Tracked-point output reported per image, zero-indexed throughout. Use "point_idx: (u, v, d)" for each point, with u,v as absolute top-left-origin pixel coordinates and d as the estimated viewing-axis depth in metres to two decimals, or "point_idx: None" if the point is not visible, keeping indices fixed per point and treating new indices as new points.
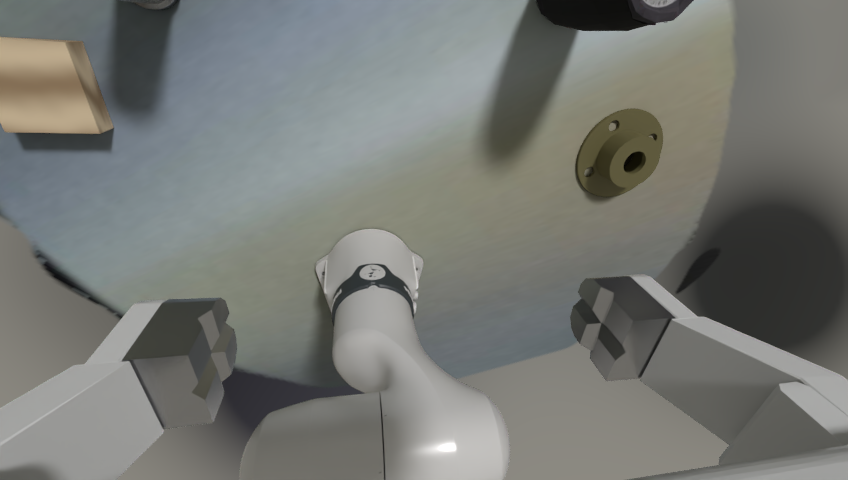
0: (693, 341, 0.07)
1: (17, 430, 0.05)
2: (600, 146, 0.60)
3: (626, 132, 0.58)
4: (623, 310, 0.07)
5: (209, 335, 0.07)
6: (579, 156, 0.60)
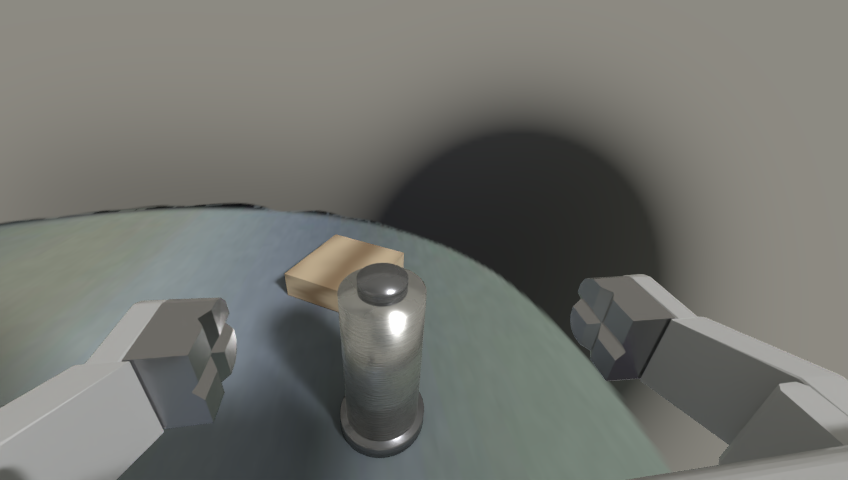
0: (692, 340, 0.07)
1: (17, 429, 0.05)
2: None
3: None
4: (623, 310, 0.07)
5: (209, 335, 0.07)
6: None
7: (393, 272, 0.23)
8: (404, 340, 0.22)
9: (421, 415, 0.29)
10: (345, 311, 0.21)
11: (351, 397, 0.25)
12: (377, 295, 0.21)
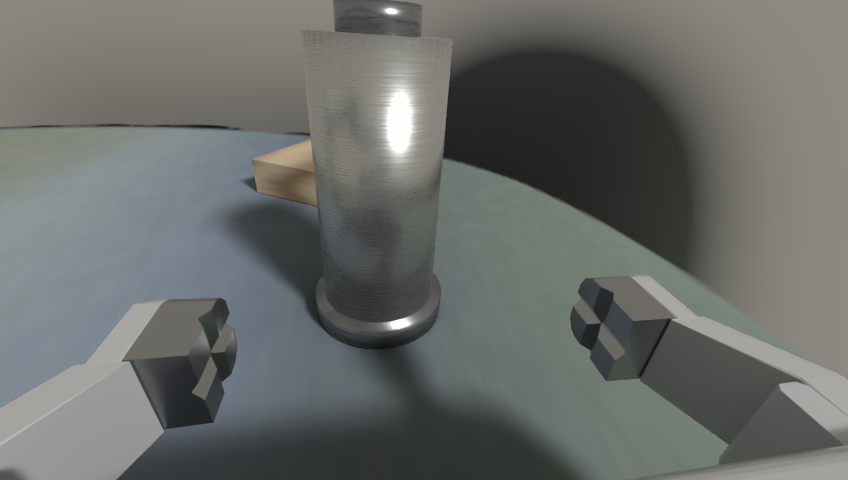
0: (692, 340, 0.07)
1: (17, 429, 0.05)
2: None
3: None
4: (623, 310, 0.07)
5: (209, 335, 0.07)
6: None
7: None
8: (416, 102, 0.13)
9: (437, 295, 0.19)
10: (311, 37, 0.12)
11: (329, 241, 0.16)
12: (368, 5, 0.12)
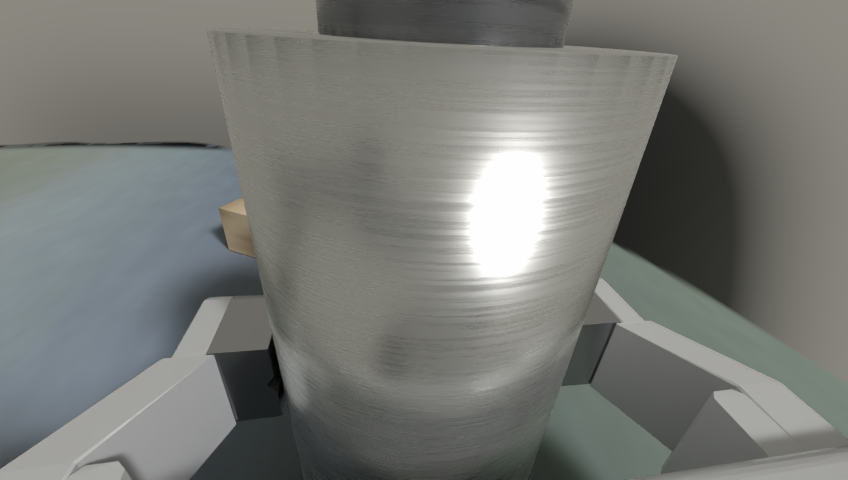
0: (636, 345, 0.07)
1: (126, 418, 0.05)
2: None
3: None
4: None
5: None
6: None
7: None
8: (579, 259, 0.04)
9: None
10: (228, 56, 0.03)
11: None
12: None
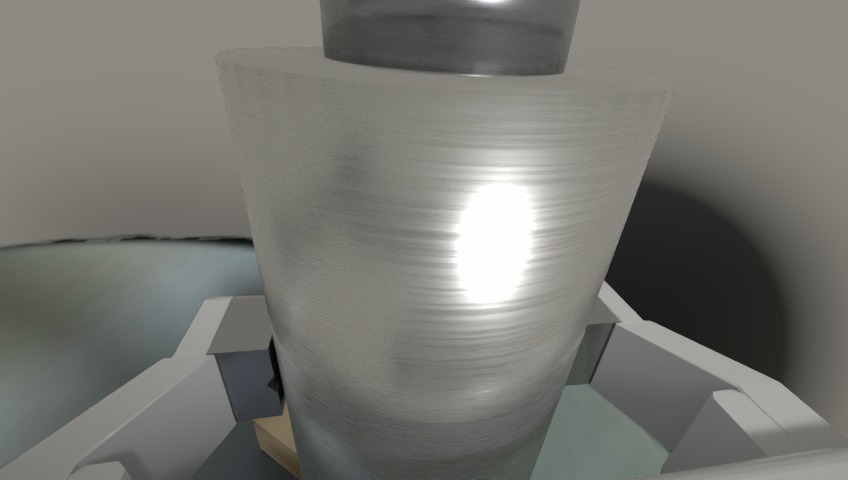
0: (636, 346, 0.07)
1: (126, 418, 0.05)
2: None
3: None
4: None
5: None
6: None
7: None
8: (578, 282, 0.04)
9: None
10: (236, 86, 0.03)
11: None
12: None
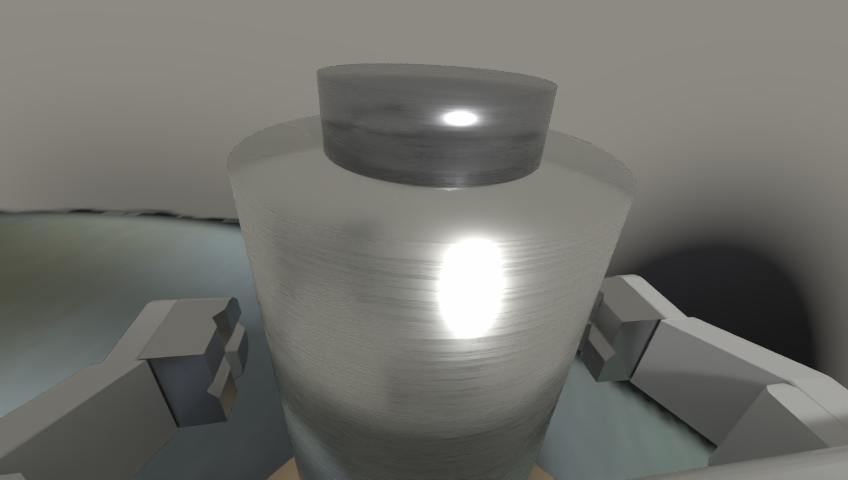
0: (681, 341, 0.07)
1: (39, 427, 0.05)
2: None
3: None
4: (613, 311, 0.07)
5: (222, 334, 0.07)
6: None
7: (478, 72, 0.05)
8: (550, 362, 0.05)
9: None
10: (248, 208, 0.04)
11: None
12: (426, 111, 0.04)
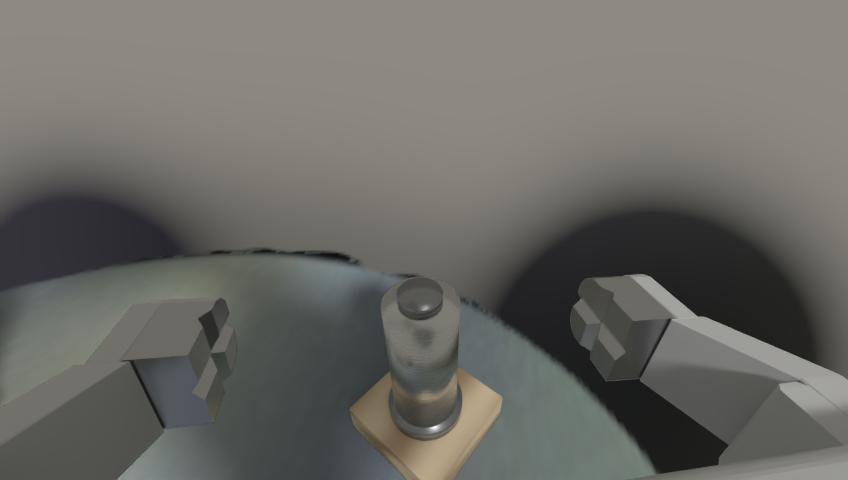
0: (693, 341, 0.07)
1: (17, 429, 0.05)
2: None
3: None
4: (623, 310, 0.07)
5: (209, 335, 0.07)
6: None
7: (428, 287, 0.25)
8: (443, 347, 0.25)
9: (460, 402, 0.32)
10: (390, 327, 0.24)
11: (398, 393, 0.29)
12: (417, 311, 0.24)
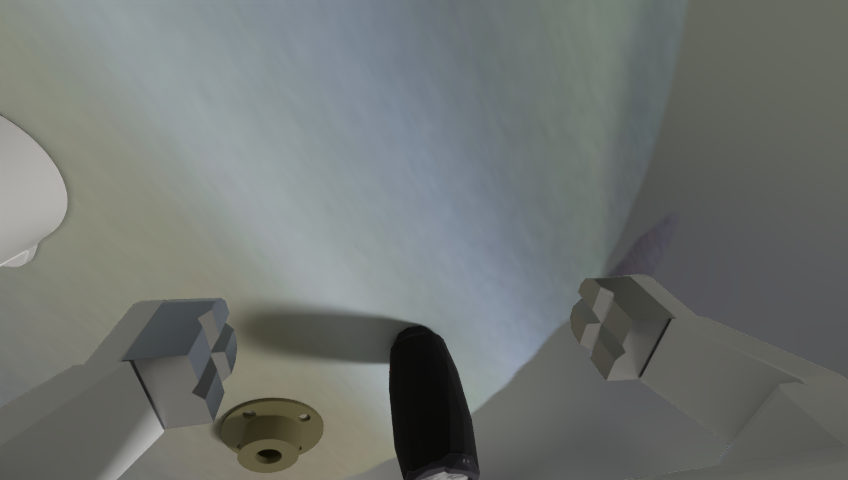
0: (692, 340, 0.07)
1: (17, 429, 0.05)
2: (281, 414, 0.55)
3: (299, 431, 0.56)
4: (623, 310, 0.07)
5: (209, 335, 0.07)
6: (266, 401, 0.53)
7: None
8: None
9: None
10: None
11: None
12: None
